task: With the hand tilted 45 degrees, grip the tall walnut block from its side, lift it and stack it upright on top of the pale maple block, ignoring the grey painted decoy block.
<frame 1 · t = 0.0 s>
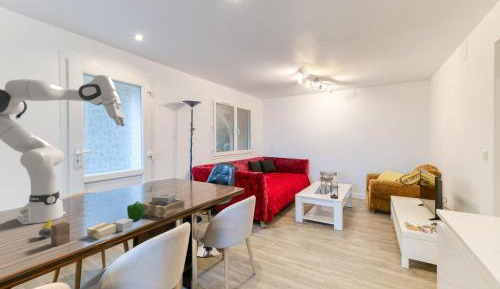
hand: (121, 125, 132), 52 cm above the table, tool tilted 20°, fingers open, 8 cm apart
icon cube: (164, 212, 136), resting in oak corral
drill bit: (46, 236, 101), on the table
maple block: (102, 235, 103), on the table
bell pepper: (135, 219, 123), on the table
walnut block: (60, 242, 95), on the table
grey painted block: (123, 228, 111), on the table
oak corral: (164, 211, 136), on the table
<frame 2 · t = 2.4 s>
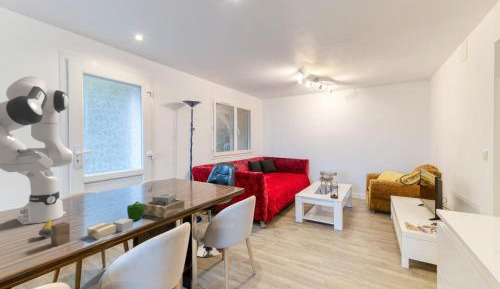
hand: (41, 175, 87), 30 cm above the table, tool tilted 40°, fingers open, 8 cm apart
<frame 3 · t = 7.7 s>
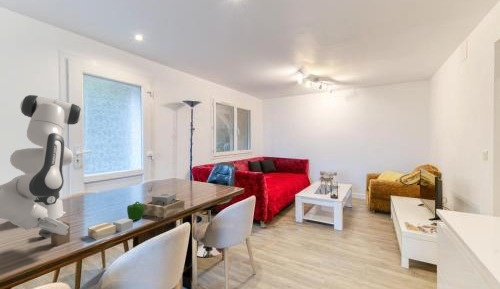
hand: (62, 232, 96), 4 cm above the table, tool tilted 45°, fingers closed on walnut block, 4 cm apart
walnut block: (60, 242, 95), on the table, touching gripper
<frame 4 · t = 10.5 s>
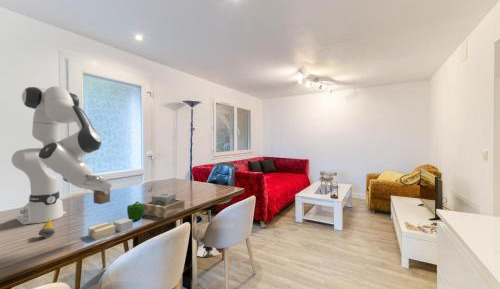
hand: (103, 192, 104), 19 cm above the table, tool tilted 45°, fingers closed on walnut block, 4 cm apart
walnut block: (101, 202, 103), point 15 cm above the table, touching gripper
when the fingers open (9 cm above the table, at t = 13.3 s): walnut block drops 1 cm, point 4 cm above the table.
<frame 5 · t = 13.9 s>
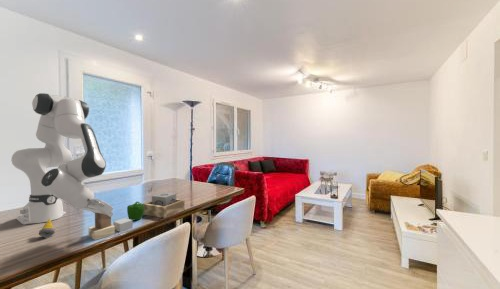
hand: (104, 213, 104), 9 cm above the table, tool tilted 45°, fingers open, 8 cm apart
walnut block: (103, 226, 104), point 4 cm above the table
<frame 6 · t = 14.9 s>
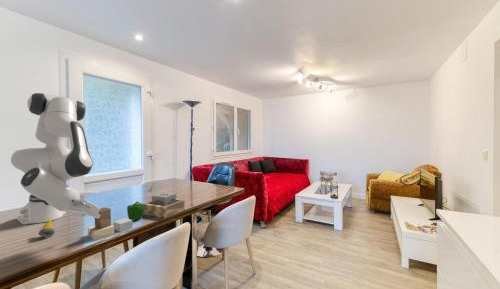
hand: (91, 215, 99), 10 cm above the table, tool tilted 45°, fingers open, 8 cm apart
icon cube: (164, 210, 138), resting in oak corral
maple block: (101, 235, 103), on the table, touching walnut block
walnut block: (103, 226, 104), point 4 cm above the table, touching maple block
everything else where it was.
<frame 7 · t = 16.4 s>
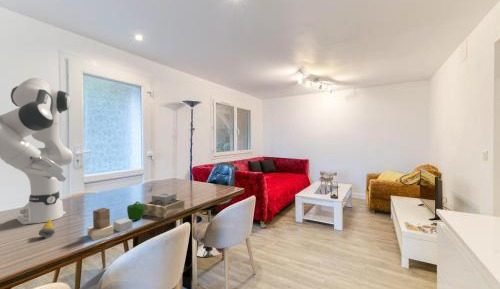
hand: (56, 178, 89), 28 cm above the table, tool tilted 45°, fingers open, 8 cm apart
icon cube: (164, 210, 139), resting in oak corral
everything else where it was.
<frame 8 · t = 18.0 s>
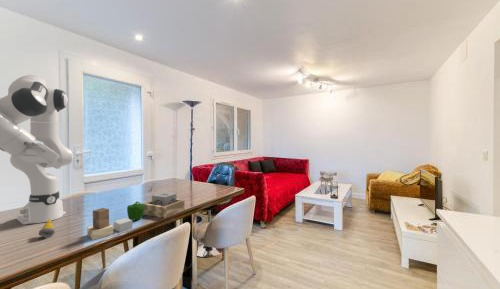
hand: (52, 166, 88), 33 cm above the table, tool tilted 45°, fingers open, 8 cm apart
nothing on the table moved.
at the end: walnut block 0.7 cm from the maple block (horizontally); walnut block point 3.7 cm above the table; the gripper is holding nothing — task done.
